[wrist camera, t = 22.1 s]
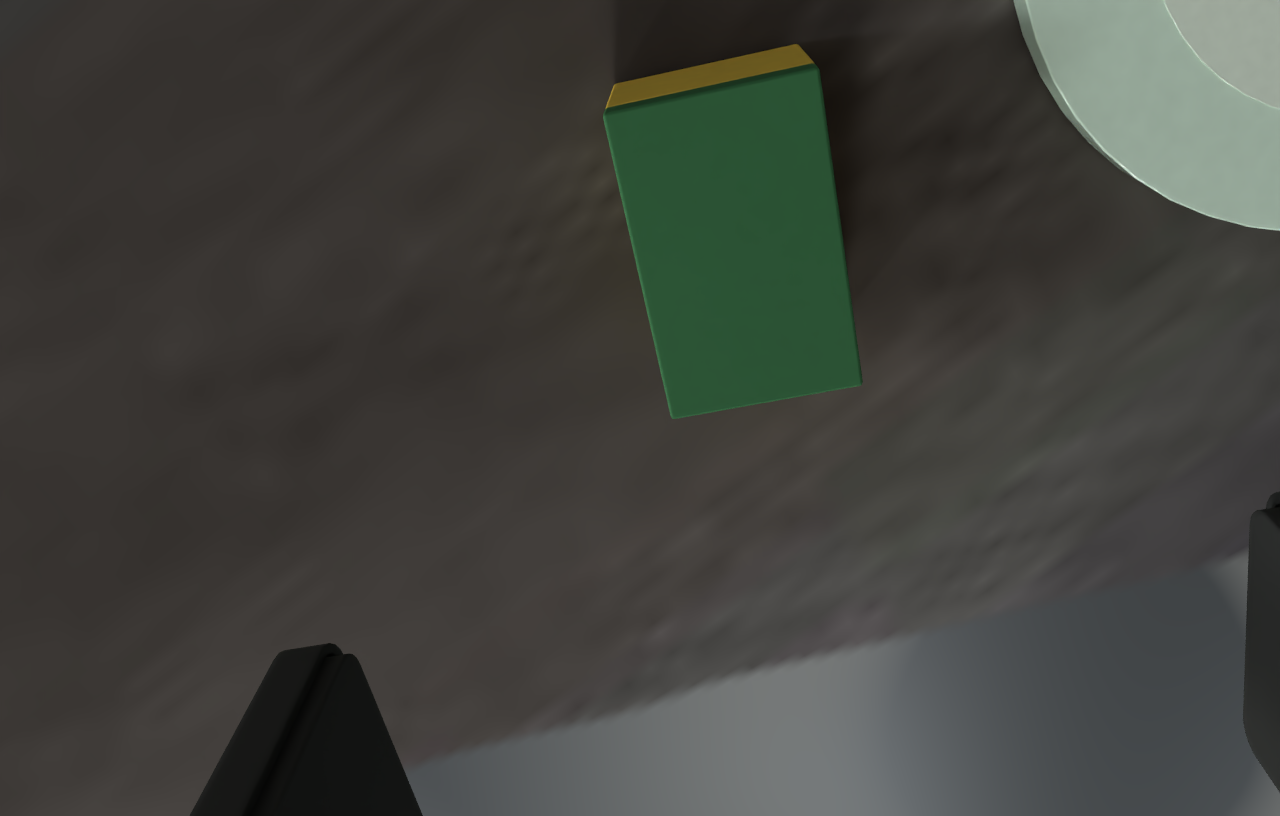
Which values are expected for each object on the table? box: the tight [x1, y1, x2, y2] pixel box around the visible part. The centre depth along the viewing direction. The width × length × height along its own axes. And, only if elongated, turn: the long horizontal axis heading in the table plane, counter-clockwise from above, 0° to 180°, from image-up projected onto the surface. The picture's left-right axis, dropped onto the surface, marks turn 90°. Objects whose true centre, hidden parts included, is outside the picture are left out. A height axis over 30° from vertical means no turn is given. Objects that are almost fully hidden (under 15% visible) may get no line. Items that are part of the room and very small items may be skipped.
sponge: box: [603, 44, 863, 419], centre depth 27 cm, size 8×5×4 cm, turn 12°
